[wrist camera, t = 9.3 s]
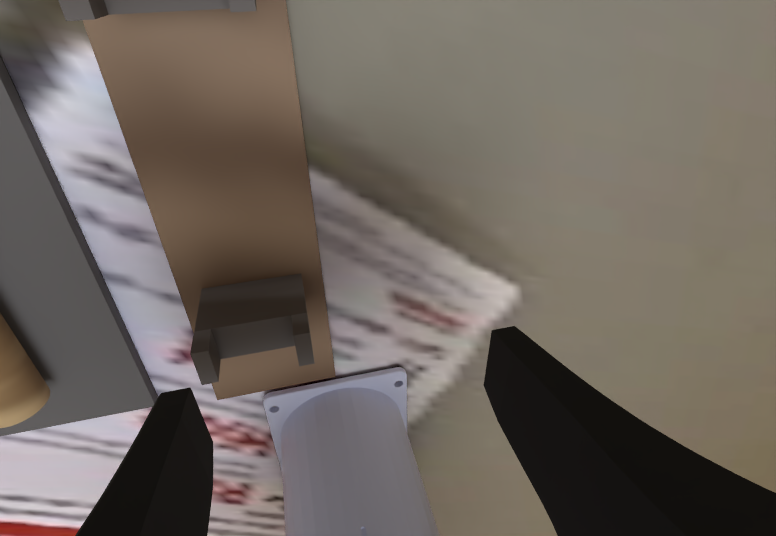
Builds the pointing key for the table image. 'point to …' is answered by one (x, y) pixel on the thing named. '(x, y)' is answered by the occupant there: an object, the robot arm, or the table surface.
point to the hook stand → (222, 177)
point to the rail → (18, 381)
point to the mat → (58, 288)
